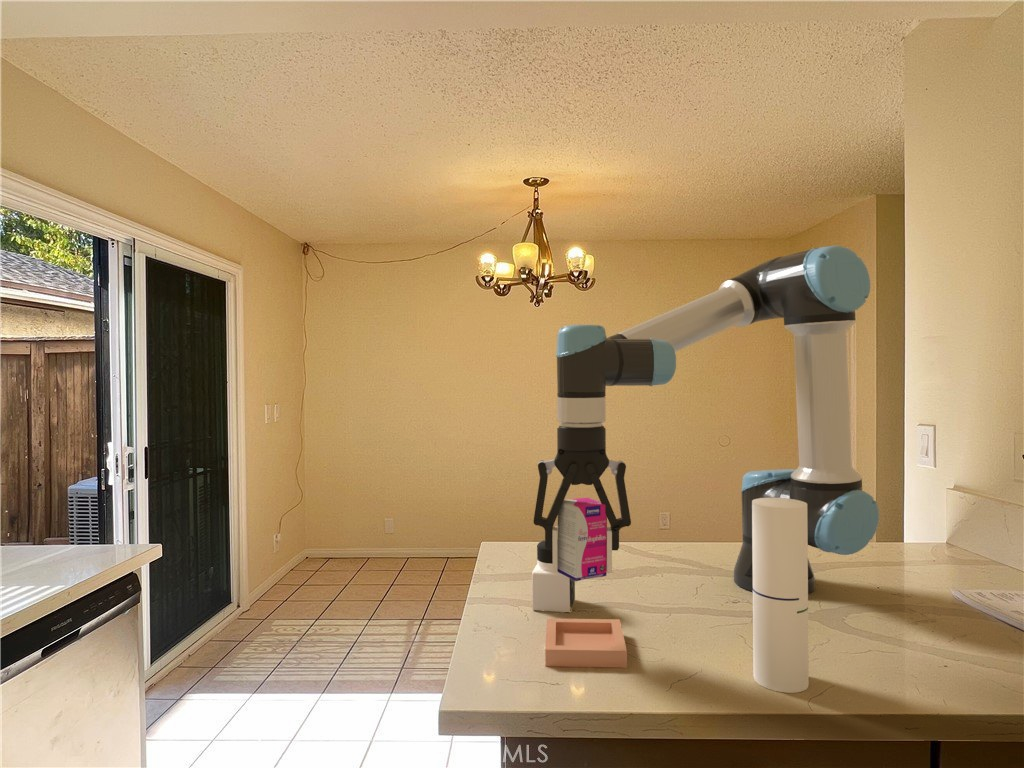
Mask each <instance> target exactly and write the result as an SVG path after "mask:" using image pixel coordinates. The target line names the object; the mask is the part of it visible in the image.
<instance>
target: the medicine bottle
mask: <svg viewBox="0 0 1024 768" xmlns="http://www.w3.org/2000/svg"><path fill="white" fill-rule="evenodd" d="M557 548H558V538H557ZM536 554H537V555H536V558H537V559H536V561H537V562H536V563H537V564H536V565H535V567H534V568H533V570H532V573H531V594H532V595H531V600H532V601H531V602H532V604H531V605H532V606H531V607H532V608H531V609H532V611H533V610H544V611H543V612H547V611H555V612H554V613H564V612H570V613H572V609H573V607H574V603H575V600H576V581H574V580H572V579H570V578H568V577H566V576H564V575H562V574H560V573H559V572H553V550H550V549H546V547H545V539H544V540H541V541H540V542H538V543H537V546H536Z"/></svg>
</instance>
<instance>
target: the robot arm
mask: <svg viewBox="0 0 1024 768" xmlns="http://www.w3.org/2000/svg"><path fill="white" fill-rule="evenodd" d="M870 291H871V277H870V273H869V271H868V268H867V266H866V264H865V262H864V261H863V259H862V258H861V257H859V256H858V255H857V253H856V252H855V251H853V250H852V249H850V248H849V247H846V246H842V245H830V246H820V247H813V248H812V249H808V250H803V251H800V252H796V253H792V254H787V255H783V256H778V257H774V258H771V259H768V260H766V261H765V262H762V263H760V264H757V266H754V267H753V268H750V269H749V270H747V271H744V272H742V273H740V274H738V275H736V276H734V277H732V278H730V279H727V280H726V281H723V282H722V283H721V284H720V285H719V287H718V289H717V290H716V291H713V292H711V293H708V294H707V295H703V296H701V297H700V298H699V297H698V298H697V299H694V300H692V301H690V302H688V303H684V304H683V305H680V306H678V307H676V308H673V309H670V310H669V311H666V312H665V313H662V314H659V315H657V316H654V317H653V318H650V319H647V320H645V321H643V322H641V323H638V324H636V325H632V327H629V328H627V329H625V330H622V331H619V332H618V333H615V334H613V335H611V336H609V337H607V334H606V328H605V327H604V326H603V325H599V324H597V325H596V324H572V325H570V324H569V325H564V326H562V327H560V328H559V330H558V333H557V340H556V353H555V357H556V375H557V376H556V380H557V382H556V384H557V397H556V411H557V412H556V416H557V417H556V420H557V422H558V423H559V424H560V425H558V427H557V428H556V429H557V432H556V436H557V437H556V438H557V439H556V441H557V447H556V452H557V453H556V455H555V457H554V459H551V460H539V461H538V463H537V470H538V474H539V482H538V487H537V494H536V495H537V496H536V501H535V502H536V503H535V509H534V515H533V524H534V525H535V526H539V527H542V528H543V529H544V540H545V547H546V549H550V550H553V572H557V571H558V556H557V539H558V525H557V526H554V525H555V522H556V520H557V519H558V513H559V511H560V508H561V506H562V503H563V501H564V500H566V496H567V493H568V491H569V490H570V487H571V485H572V486H579V485H585V486H593V487H594V489H595V493H596V495H597V496H598V499H599V502H601V504H604V505H605V513H606V516H607V521H608V522H609V525H610V526H607V574H613V551H619V549H620V530H621V529H622V528H626V527H630V526H631V524H632V520H631V513H630V508H629V502H628V495H627V489H626V488H627V487H626V483H625V475H626V470H627V465H626V464H625V462H624V461H623V460H618V461H617V460H611V459H609V457H608V456H607V449H606V448H607V445H606V442H607V441H606V440H607V438H606V436H607V434H606V430H607V429H606V427H605V425H603V424H604V423H605V422H606V417H607V416H606V415H607V414H606V411H607V410H606V405H607V404H606V400H607V399H606V398H607V397H606V394H607V393H606V390H607V387H613V386H617V387H618V386H628V387H630V386H631V387H634V386H636V387H638V386H639V387H641V386H642V387H643V386H645V387H646V386H648V387H653V386H663V385H666V384H668V383H670V381H671V380H672V379H673V377H674V376H675V372H676V369H677V354H676V353H677V352H679V351H682V350H684V349H686V348H687V347H689V346H692V345H694V344H697V343H699V342H701V341H703V340H705V339H708V338H710V337H712V336H714V335H717V334H719V333H721V332H723V331H725V330H727V329H730V328H732V327H737V328H744V327H747V326H749V325H751V324H754V323H757V322H762V321H768V320H774V319H775V320H777V319H783V328H784V329H786V330H787V331H788V332H789V333H790V334H792V336H793V350H794V351H793V353H794V375H795V377H794V379H795V398H796V399H795V402H796V419H797V420H796V423H797V442H798V443H797V446H798V467H797V468H795V469H794V468H790V469H789V468H788V469H787V468H786V469H783V468H782V469H763V470H762V469H761V470H752V471H748V472H746V473H745V474H744V475H743V476H742V480H741V481H742V483H741V484H742V485H741V491H740V494H741V519H742V520H741V523H742V524H741V525H742V543H741V544H742V545H741V547H740V549H739V554H738V556H737V559H736V562H735V565H734V567H733V582H734V584H736V585H737V586H738V587H740V588H741V589H745V590H747V591H750V592H753V562H752V500H754V499H758V498H787V499H794V500H799V501H803V502H805V503H807V527H808V546H810V547H812V548H815V549H819V550H820V551H822V552H825V553H833V554H837V555H841V556H847V555H853V554H857V553H859V552H860V551H862V550H863V549H864V548H866V546H868V545H869V542H871V540H872V539H873V538H874V537H875V535H876V532H877V529H878V527H879V522H880V509H879V506H878V503H877V501H876V500H874V497H873V496H872V495H871V494H869V493H868V492H866V491H865V490H863V477H862V474H860V473H859V472H858V471H857V470H856V469H854V467H853V466H852V464H853V463H852V439H851V438H852V437H851V417H850V415H851V414H850V412H851V411H850V393H849V391H850V388H849V369H848V368H849V367H848V365H849V364H848V363H849V362H848V342H847V341H848V340H847V333H848V330H850V328H852V327H853V326H854V325H855V324H856V322H857V319H856V318H857V317H856V311H858V310H859V309H861V308H862V306H863V305H864V304H866V302H867V300H866V299H867V298H869V296H870ZM555 467H556V469H557V470H558V472H559V474H560V475H561V476H562V480H561V483H560V485H559V487H558V491H557V492H556V496H555V498H554V500H553V502H552V504H551V507H550V510H549V512H548V515H547V517H544V516H543V512H544V505H545V499H546V492H547V486H548V478H549V475H552V472H553V468H555ZM608 468H610V471H611V474H612V475H613V476H614V480H615V487H616V491H617V498H618V504H619V509H620V517H618V518H617V517H616V514H615V511H614V509H613V507H612V505H611V503H610V500H609V498H608V495H607V493H606V491H605V488H604V487H603V484H602V481H601V479H600V478H601V476H602V475H603V474H604V473H605V471H607V470H606V469H608ZM815 582H816V580H815V574H814V572H813V568H812V565H811V563H810V560H809V558H808V594H810V593H812V592H814V590H815V588H816V583H815Z"/></svg>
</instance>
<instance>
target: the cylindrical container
mask: <svg viewBox="0 0 1024 768" xmlns="http://www.w3.org/2000/svg"><path fill="white" fill-rule="evenodd" d="M808 546H809V545H808V527H807V503H805V502H803V501H799V500H794V499H787V498H758V499H754V500H752V562H753V591H752V638H753V639H752V643H753V644H752V645H753V647H752V650H753V651H752V652H753V653H752V654H753V655H752V656H753V658H752V659H753V660H752V661H753V662H752V663H753V666H752V668H753V669H752V670H753V673H752V674H753V679H754V681H755V682H756V683H757V685H760V687H763V688H766V689H767V690H768V689H769V690H770V691H775V692H778V693H784V694H785V693H786V694H787V693H788V694H795V693H800V692H803V691H805V690H807V689H808V688H809V687H810V686H809V683H810V682H809V678H810V677H809V593H808V559H809V557H808V556H809V551H808Z"/></svg>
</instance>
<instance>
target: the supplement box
mask: <svg viewBox="0 0 1024 768" xmlns="http://www.w3.org/2000/svg"><path fill="white" fill-rule="evenodd" d="M607 527H608V518H607V516H606V513H605V505H604V504H601V501H598V500H595V499H592V498H590V497H581V498H571V499H564V501H563V503H562V506H561V508H560V511H559V513H558V515H557V539H558V548H557V556H558V571H557V572H559V573H560V574H562V575H564V576H566V577H568V578H570V579H572V580H574V581H575V582H580V581H583V580H589V579H595V578H603V577H606V576H607V574H608V573H607Z"/></svg>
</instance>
